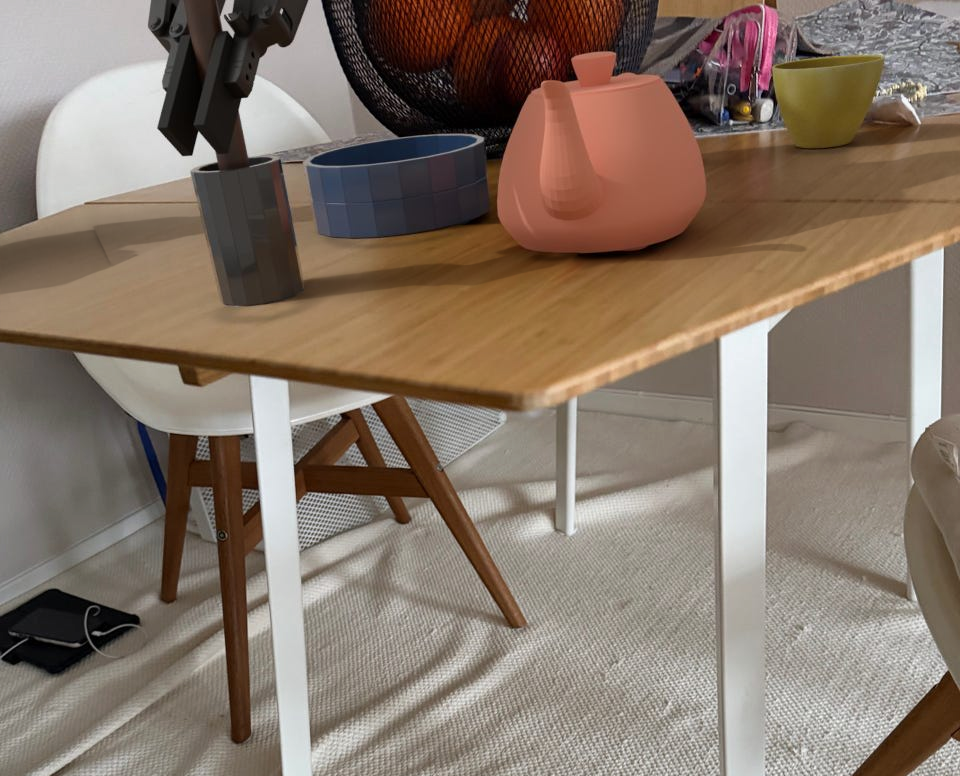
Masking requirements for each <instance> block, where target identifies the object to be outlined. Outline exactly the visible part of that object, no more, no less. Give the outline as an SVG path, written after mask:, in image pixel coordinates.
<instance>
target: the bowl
mask: <svg viewBox="0 0 960 776" xmlns="http://www.w3.org/2000/svg"><path fill="white" fill-rule="evenodd" d="M485 140H486V139H485V137H484V136H480V135H478V134H471V133H470V134H469V133H435V134H422V135H421V134H420V135H412V136H404V137H403V136H402V137H394V138H387V139H379V140H374V141H369V142H367V141H366V142H363V143H357V144H351V145H347V146H342V147H337V148H334V149H329V150H326V151H322V152H319V153H317V154H314V155H311V156H309V157H306V159H305V160H303V162H302V167H303V172H304V177H305V182H306V188H307V189H306V190H307V193H308V200H309V205H310V210H311V216H312V222H313V228H314V230H315V231H316V232H317V233H318V234H319V235H322V236H326V237H328V238H329V237H330V238H344V239H368V238H369V239H373V238H385V237H393V236H394V237H395V236H403V235H404V236H405V235H411V234H419V233H422V232H423V233H425V232H428V231H429V232H430V231H435V230H440V229H444V228H447V227H452V226H453V227H454V226H464V225H466V224H468V223H470V222H472V221H473V220H474V219H477V218H479V217H481V216H483V215H484V214H486V213H488V212H490V210H491V205H492V202H491V193H490V181H489V171H488V170H489V169H488V163H487V162H488V161H487V160H488V159H487V151H486V141H485Z"/></svg>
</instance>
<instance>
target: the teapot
mask: <svg viewBox="0 0 960 776" xmlns="http://www.w3.org/2000/svg"><path fill="white" fill-rule="evenodd" d="M570 60H571V64H572V68H573V70H574V73H575V75H576V78H577V80H570V81H565V82H563V81H560V80H554V79H549V80H543V81H541V84H540V87H538V88H535V89H533V90H532V91H531V92H530V93H529V94H528V95H527V97H526V100H525V102H524V103H523V105H522V107H521V109H520V112H519V114H518V116H517V119H516V121H515V124H514V126H513V128H512V131H511V134H510V136H509V139H508V141H507V145H506V147H505V150H504V153H503V157H502V161H501V165H500V170H499V177H498V185H497V199H496V206H497V207H496V208H497V217H498V218H499V221H500V224H501V225H502V227H503V228H504V229H505V230H506V232H507V233H508V234H509V235H510V237H512V239H513V240H514V241H515V242H516V243H518V245H519V246H520V247H522V248H524V249H526V250H530V251H535V252H541V253H542V252H543V253H556V254H559V253H560V254H561V253H562V254H564V253H565V254H570V253H571V254H573V253H574V254H575V253H578V254H592V253H607V252H615V251H616V252H617V251H618V252H619V251H620V252H633V251H639V250H643V249H645V248H647V247H648V246H650V245H654V244H657V243H661V242H665V241H667V240H669V239H672V238H674V237H676V236H678V235H681V234H682V233H684V231H685V230H686V229H687V228H688V227H689V226H690V224H691V222H693V220H694V218H695V217H696V216H697V214H698V212H699V211H700V209H701V208H702V207H703V204H704V203H705V199H706V197H707V180H706V179H707V178H706V172H705V167H704V161H703V157H702V153H701V148H700V146H699V144H698V140H697V138H696V136H695V132H694V130H693V129H692V127H691V124H690V122H689V120H688V118H687V116H686V114H685V113H684V111H683V109H682V108H681V106H680V104H679V102H678V100H677V99H676V97H675V95H674V94H673V93H672V91H671V88H669V87H668V85H667V84H666V82H665V81H664V79H663V78H661V76H660V75H657V74H636V73H633V72H622V73H620V74H619V75H614V76H612V75H613V71H614V68H615V64H616V60H617V53H616V52H614V51H594V52H593V51H592V52H586V53H583V54H578V55H574V56H573V57H572V58H571V59H570Z"/></svg>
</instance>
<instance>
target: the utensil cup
mask: <svg viewBox="0 0 960 776" xmlns="http://www.w3.org/2000/svg"><path fill="white" fill-rule="evenodd" d="M248 160H249V165H250V166H249V167H243V168H237V169H229V170H221V171H219V167H218V162H217V161H214V162H208V163H204V164H202V165H198V166H196V167H193V168H192V169H191V170H190V171H189V173H190V176H191V180H192V185H193V189H194V193H195V198H196V203H197V207H198V211H199V215H200V219H201V224H202V228H203V233H204V236H205V241H206V246H207V250H208V253H209V258H210V263H211V267H212V271H213V275H214V280H215V284H216V288H217V293H218V297H219V301H220V302H221V304H223V305H225V306H229V307H255V306H262V305H268V304H274V303H278V302H282V301H286V300H289V299H292V298H294V297H296V296H298V295H300V294H302V293H303V292H304V291H305V286H306V285H305V280H304V274H303V269H302V264H301V259H300V254H299V248H298V244H297V239H296V233H295V227H294V223H293V222H294V221H293V218H292V212H291V206H290V202H289V195H288V190H287V185H286V181H285V176H284V175H285V174H284V169H283V165H282V159H281V157H280V156H277V155H253V156H248Z"/></svg>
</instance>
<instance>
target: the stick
mask: <svg viewBox="0 0 960 776" xmlns="http://www.w3.org/2000/svg"><path fill="white" fill-rule="evenodd" d="M183 3H184V8H185V12H186V17H187V22H188V26H189V31H190V36H191V40H192V45H193V50H194V54H195V59H196V64H197V68H198V73H199V78H200V82H201V87H202V90H203V86H204V82H205V78H206V74H207V70H208V66H209V62H210V58H211V54H212V50H213V46H214V42H215V38H216V34H217V32H219V31H224V29H223V24H222V19H221V16H220V14H219V9H218V4H217V0H183ZM214 152H215V158H216V162H218V167H219V171H221V170H229V169H237V168H243V167H249V166H250V165H249V160H248V157H249V155H248V150H247V145H246V140H245V135H244V131H243V124H242V120H241V114H240V110H239V111H238V115H237V119H236V123H235V127H234V131H233V135H232V140H231V144H230V148H229V152H228V154H217V152H216V151H215V150H214Z"/></svg>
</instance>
